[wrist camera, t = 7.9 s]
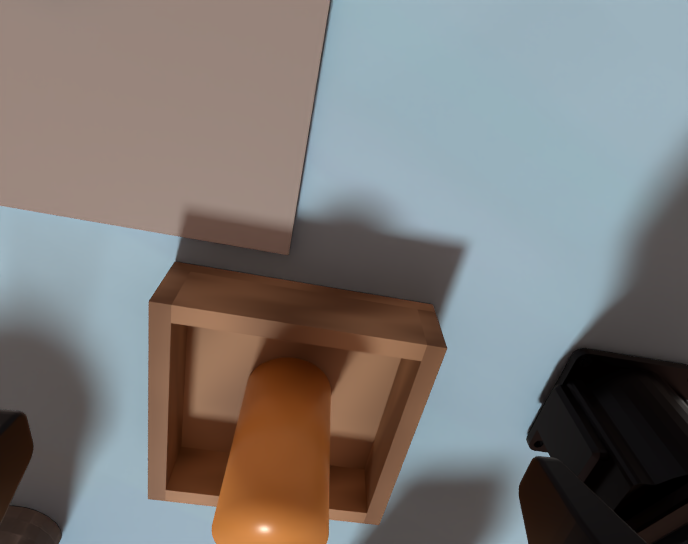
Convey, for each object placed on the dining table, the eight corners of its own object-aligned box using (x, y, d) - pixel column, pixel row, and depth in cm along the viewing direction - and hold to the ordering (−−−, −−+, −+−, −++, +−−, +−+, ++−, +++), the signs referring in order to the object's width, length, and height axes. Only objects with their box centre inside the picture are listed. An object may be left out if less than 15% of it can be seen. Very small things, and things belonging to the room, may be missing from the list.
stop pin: (338, 364, 22) (338, 504, 15) (322, 426, 23) (317, 572, 17) (251, 351, 21) (215, 489, 15) (242, 415, 23) (207, 561, 17)
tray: (432, 304, 21) (447, 348, 18) (374, 471, 26) (379, 524, 23) (174, 261, 20) (148, 301, 17) (168, 445, 25) (147, 499, 22)
